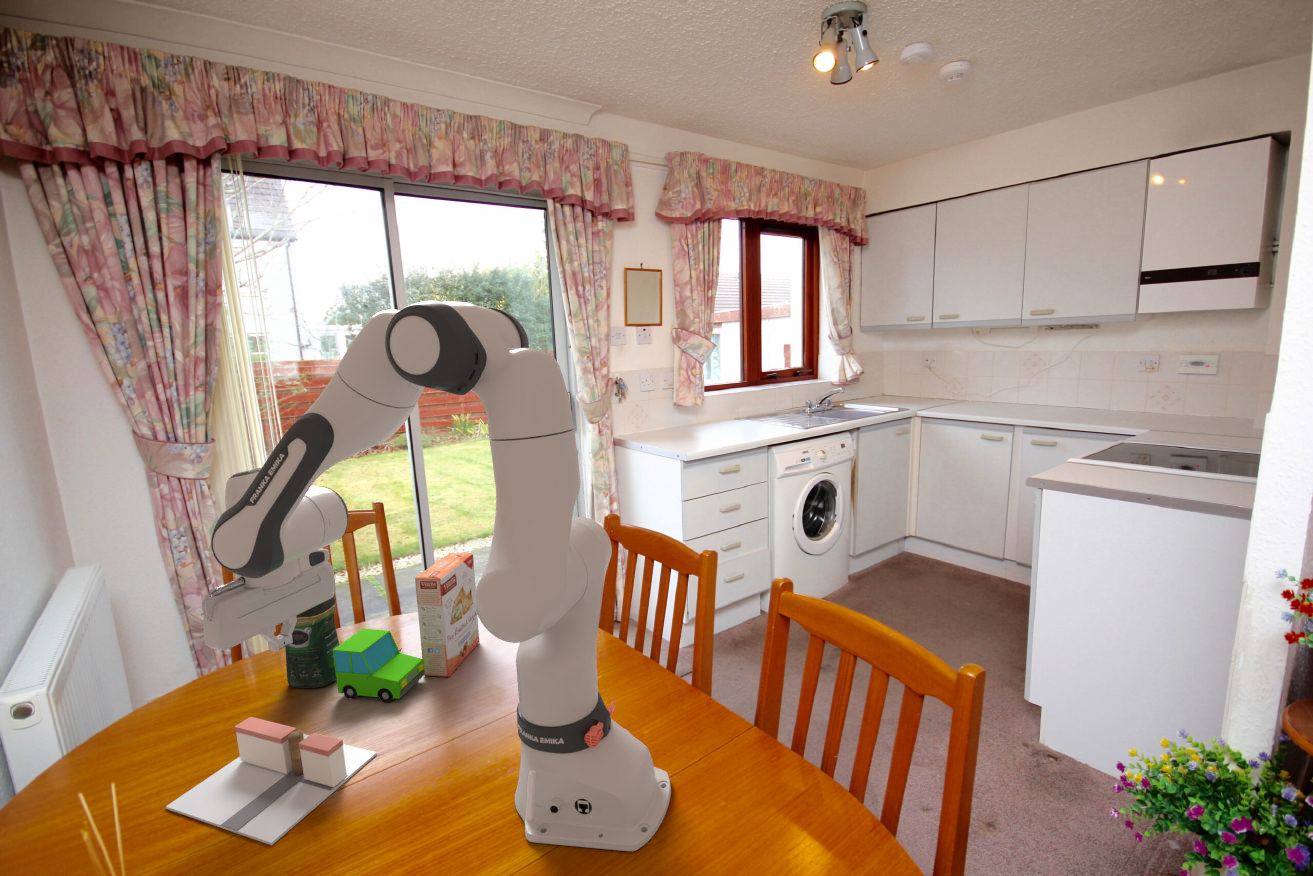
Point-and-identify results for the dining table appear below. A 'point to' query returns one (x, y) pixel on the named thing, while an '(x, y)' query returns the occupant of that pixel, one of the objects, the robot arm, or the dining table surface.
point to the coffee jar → (313, 647)
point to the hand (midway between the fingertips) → (281, 647)
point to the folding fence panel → (264, 744)
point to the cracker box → (447, 613)
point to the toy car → (375, 666)
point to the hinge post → (296, 752)
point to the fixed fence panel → (323, 759)
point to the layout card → (260, 797)
